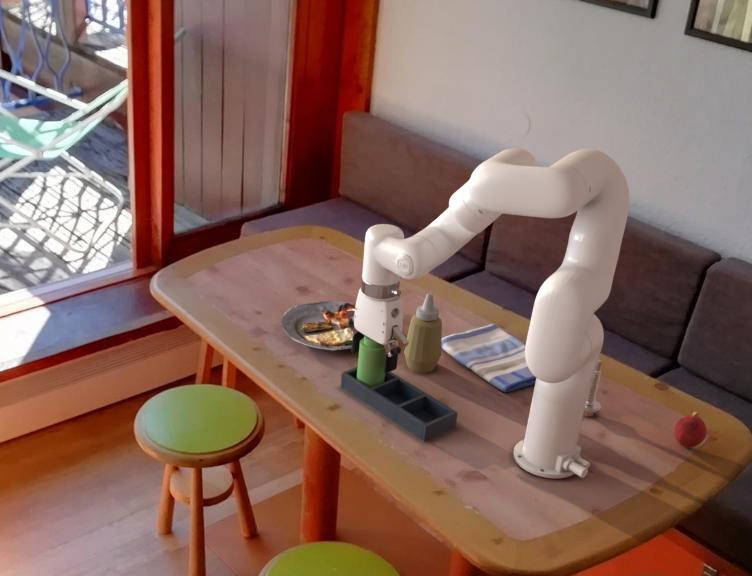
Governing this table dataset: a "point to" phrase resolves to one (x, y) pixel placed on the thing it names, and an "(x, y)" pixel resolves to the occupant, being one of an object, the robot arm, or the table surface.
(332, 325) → the food plate
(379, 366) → the bottle
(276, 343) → the table surface
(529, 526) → the table surface
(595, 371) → the screw
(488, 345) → the dish towel
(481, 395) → the table surface
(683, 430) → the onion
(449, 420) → the tray
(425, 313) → the squeeze bottle
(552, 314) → the robot arm
